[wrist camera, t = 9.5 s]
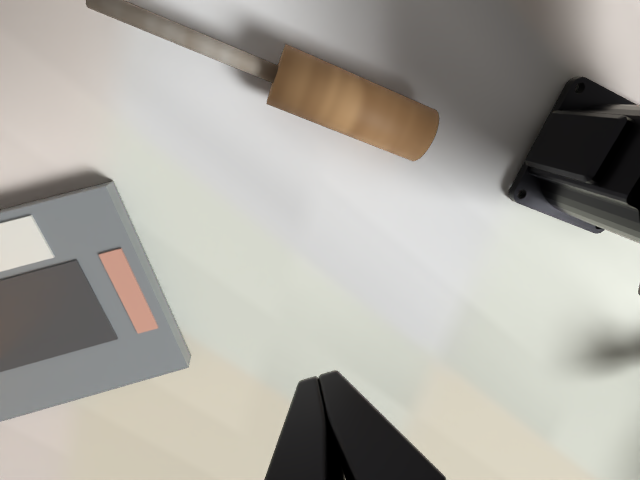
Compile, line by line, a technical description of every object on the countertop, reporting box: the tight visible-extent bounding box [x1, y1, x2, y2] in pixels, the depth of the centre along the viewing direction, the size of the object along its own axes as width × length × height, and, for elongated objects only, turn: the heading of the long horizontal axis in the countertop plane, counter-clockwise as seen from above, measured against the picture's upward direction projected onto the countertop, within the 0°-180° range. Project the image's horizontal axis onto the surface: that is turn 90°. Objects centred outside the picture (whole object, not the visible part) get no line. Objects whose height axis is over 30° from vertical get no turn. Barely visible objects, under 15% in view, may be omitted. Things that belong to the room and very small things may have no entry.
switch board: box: [0, 181, 191, 422], centre depth 18 cm, size 14×10×1 cm
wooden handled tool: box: [86, 0, 439, 161], centre depth 16 cm, size 14×2×2 cm, turn 69°
